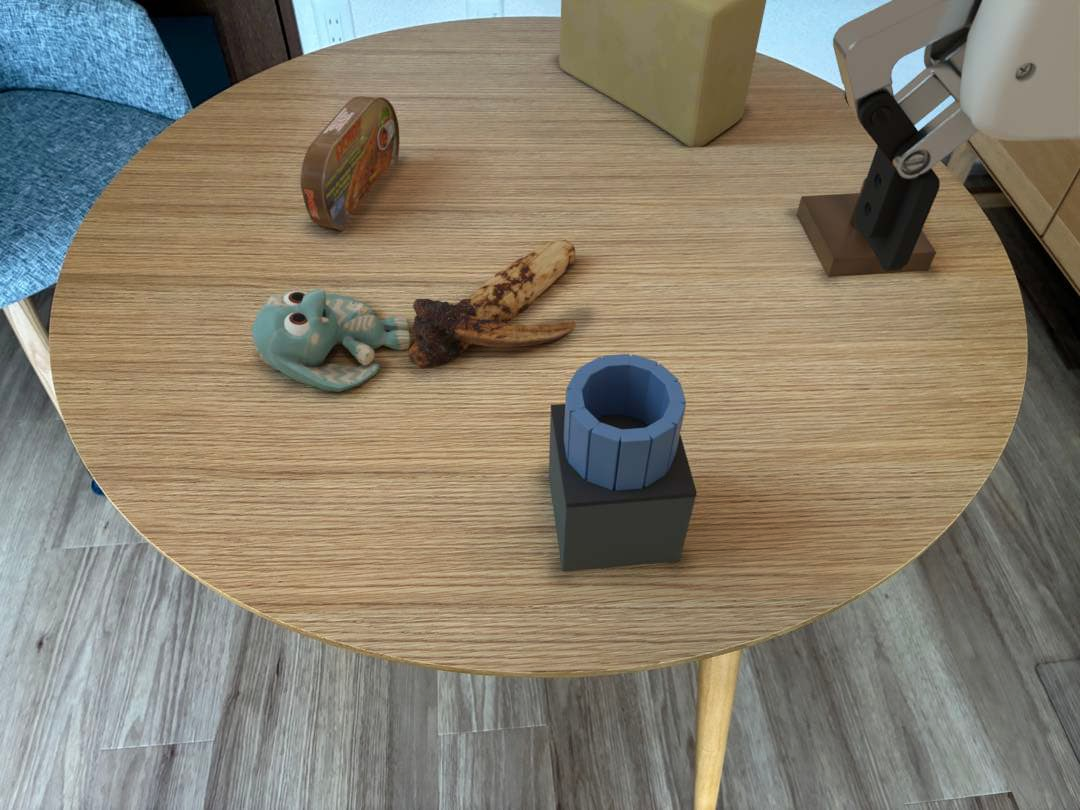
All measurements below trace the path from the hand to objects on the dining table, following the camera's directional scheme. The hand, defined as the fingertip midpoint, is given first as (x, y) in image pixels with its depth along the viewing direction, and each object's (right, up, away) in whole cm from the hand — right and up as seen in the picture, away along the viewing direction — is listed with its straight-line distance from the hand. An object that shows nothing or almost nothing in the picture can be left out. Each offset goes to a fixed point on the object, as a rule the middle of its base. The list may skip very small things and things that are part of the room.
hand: (1000, 240), depth 33 cm
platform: (+11, +8, +45) cm, 47 cm away
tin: (-35, +13, +49) cm, 62 cm away
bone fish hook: (-20, 0, +38) cm, 43 cm away
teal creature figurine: (-34, -3, +35) cm, 49 cm away
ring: (-13, -9, +19) cm, 24 cm away
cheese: (-7, +27, +62) cm, 68 cm away
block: (-13, -14, +25) cm, 32 cm away
